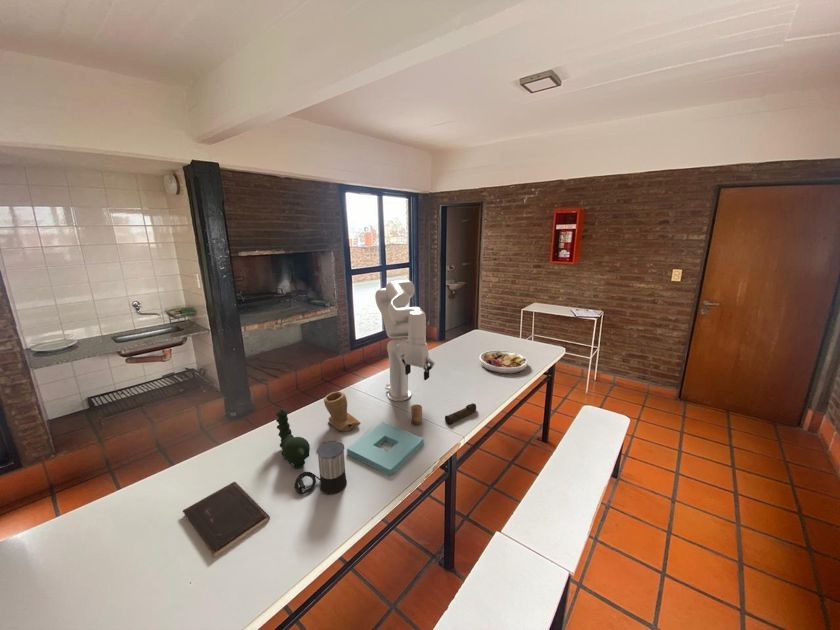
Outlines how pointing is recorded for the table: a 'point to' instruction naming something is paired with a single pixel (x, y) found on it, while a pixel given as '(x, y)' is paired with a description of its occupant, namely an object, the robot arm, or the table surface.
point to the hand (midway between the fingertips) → (417, 376)
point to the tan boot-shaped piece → (339, 411)
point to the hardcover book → (225, 517)
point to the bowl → (503, 361)
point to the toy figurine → (291, 442)
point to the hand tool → (460, 413)
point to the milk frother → (327, 470)
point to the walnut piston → (416, 415)
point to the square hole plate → (380, 458)
